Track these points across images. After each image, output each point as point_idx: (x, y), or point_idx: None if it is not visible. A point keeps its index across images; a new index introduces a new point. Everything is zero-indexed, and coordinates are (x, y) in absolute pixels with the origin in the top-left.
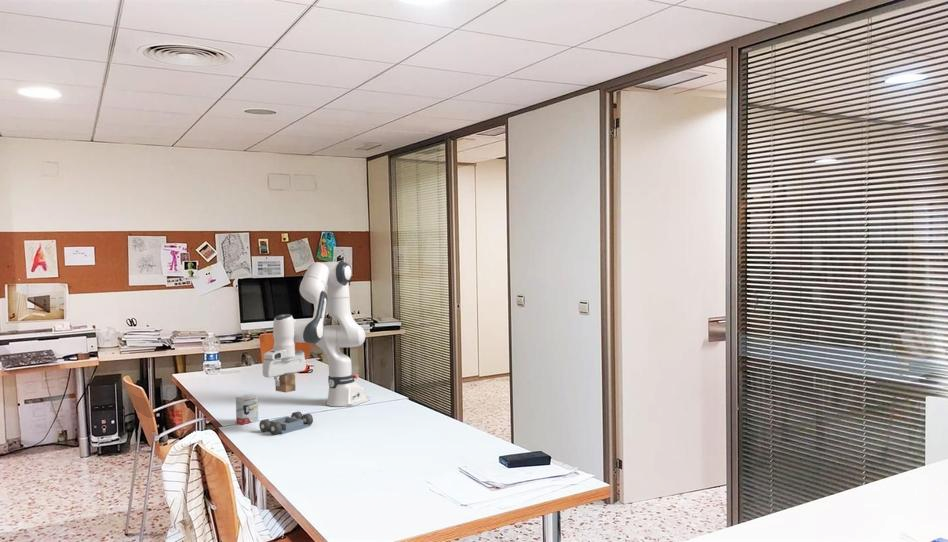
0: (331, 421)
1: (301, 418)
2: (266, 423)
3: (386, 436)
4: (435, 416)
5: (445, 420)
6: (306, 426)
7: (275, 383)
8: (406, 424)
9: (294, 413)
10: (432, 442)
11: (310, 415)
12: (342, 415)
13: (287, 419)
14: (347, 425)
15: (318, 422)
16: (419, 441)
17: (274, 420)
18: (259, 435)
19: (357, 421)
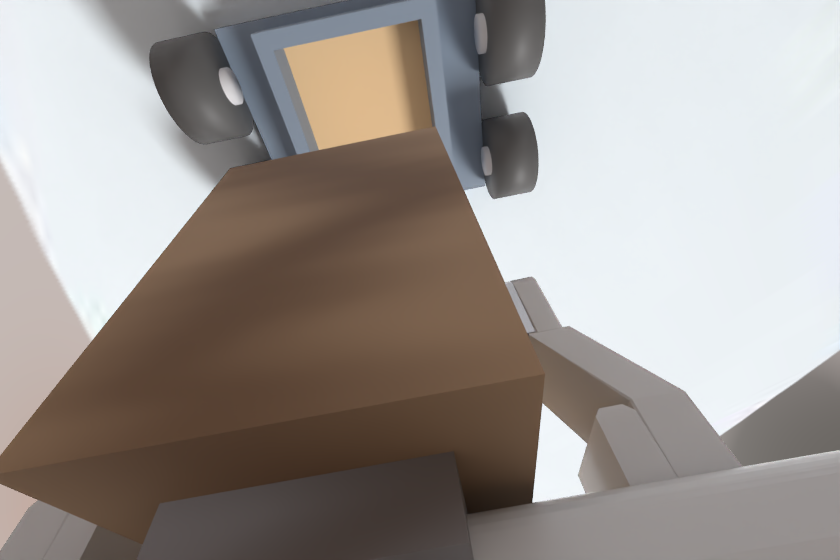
0: (632, 164)
1: (488, 128)
2: (203, 140)
3: (549, 421)
4: (817, 356)
5: (765, 395)
6: (467, 185)
7: (174, 240)
8: (689, 373)
9: (493, 36)
10: (562, 476)
11: (525, 190)
12: (794, 76)
13: (420, 28)
14: (599, 277)
15: (582, 127)
16: (554, 466)
17: (295, 45)
18: (171, 146)
19: (677, 251)
